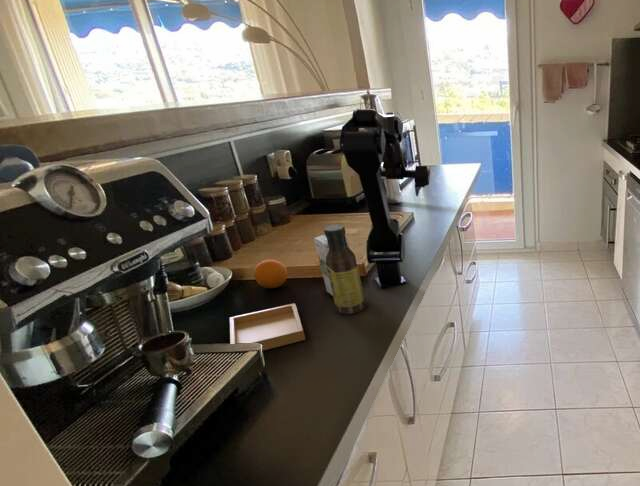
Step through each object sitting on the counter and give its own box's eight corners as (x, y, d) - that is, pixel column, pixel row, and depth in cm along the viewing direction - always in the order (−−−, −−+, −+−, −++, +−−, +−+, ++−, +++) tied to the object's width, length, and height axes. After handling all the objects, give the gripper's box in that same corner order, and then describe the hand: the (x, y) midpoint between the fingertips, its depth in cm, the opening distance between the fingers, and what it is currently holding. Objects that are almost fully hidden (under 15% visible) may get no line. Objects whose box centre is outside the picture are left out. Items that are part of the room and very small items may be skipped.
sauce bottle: (342, 302, 106) (326, 221, 97) (369, 302, 106) (355, 222, 97) (331, 315, 100) (313, 231, 91) (359, 316, 100) (343, 231, 91)
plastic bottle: (400, 205, 181) (394, 154, 172) (383, 205, 181) (376, 154, 173) (404, 201, 187) (398, 151, 178) (388, 200, 187) (381, 151, 178)
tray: (305, 339, 91) (303, 330, 90) (233, 358, 85) (230, 348, 84) (297, 311, 101) (295, 303, 100) (232, 326, 95) (229, 317, 94)
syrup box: (358, 292, 111) (348, 236, 104) (335, 300, 107) (323, 243, 100) (348, 285, 114) (337, 231, 108) (325, 292, 110) (313, 237, 104)
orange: (291, 289, 112) (285, 262, 109) (259, 295, 108) (251, 268, 105) (288, 278, 117) (282, 253, 114) (257, 284, 114) (249, 258, 111)
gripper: (428, 137, 129) (434, 177, 143) (362, 135, 128) (375, 176, 141) (424, 164, 123) (432, 203, 137) (355, 162, 122) (369, 202, 135)
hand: (402, 195), depth 138 cm, fingers open, 9 cm apart
